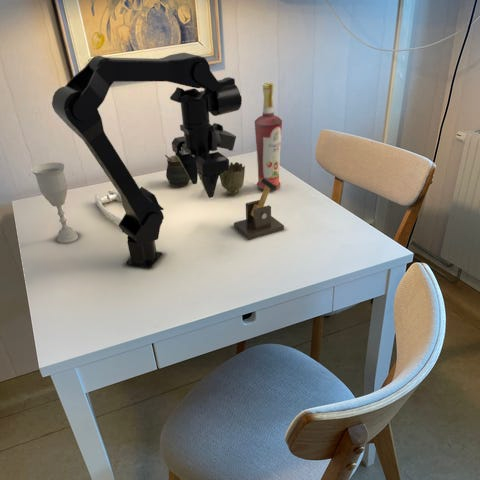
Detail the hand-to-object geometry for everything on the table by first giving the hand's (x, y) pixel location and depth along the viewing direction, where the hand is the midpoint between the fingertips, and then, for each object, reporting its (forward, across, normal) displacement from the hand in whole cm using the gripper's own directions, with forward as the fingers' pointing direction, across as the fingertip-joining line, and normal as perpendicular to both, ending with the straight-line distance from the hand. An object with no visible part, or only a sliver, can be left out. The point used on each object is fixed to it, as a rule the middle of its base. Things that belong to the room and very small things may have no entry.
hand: (202, 190), depth 114 cm
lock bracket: (+12, -3, -13) cm, 18 cm away
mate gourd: (+12, +34, -6) cm, 37 cm away
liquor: (+12, +18, -28) cm, 35 cm away
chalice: (+12, +18, +30) cm, 37 cm away
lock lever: (+4, -3, -13) cm, 14 cm away
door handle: (+12, +24, +14) cm, 30 cm away
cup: (+12, +20, -17) cm, 29 cm away
